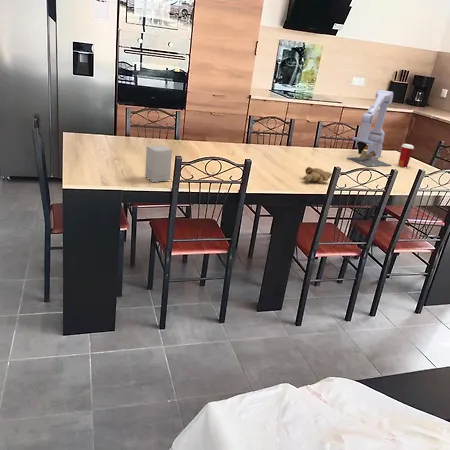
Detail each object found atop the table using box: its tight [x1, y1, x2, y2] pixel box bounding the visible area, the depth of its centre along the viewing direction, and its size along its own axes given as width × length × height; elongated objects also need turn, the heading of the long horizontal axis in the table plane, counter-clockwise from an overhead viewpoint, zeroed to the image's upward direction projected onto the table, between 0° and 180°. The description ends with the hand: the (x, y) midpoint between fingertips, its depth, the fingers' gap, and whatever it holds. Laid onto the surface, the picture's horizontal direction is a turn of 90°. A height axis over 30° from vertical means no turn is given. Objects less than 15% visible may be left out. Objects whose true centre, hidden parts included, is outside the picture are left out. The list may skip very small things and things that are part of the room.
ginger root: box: [302, 166, 333, 184], centre depth 235 cm, size 16×16×8 cm
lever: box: [359, 149, 376, 158], centre depth 291 cm, size 18×4×4 cm, turn 138°
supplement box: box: [144, 145, 173, 183], centre depth 205 cm, size 9×9×15 cm
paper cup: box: [397, 143, 415, 168], centre depth 288 cm, size 8×8×14 cm
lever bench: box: [346, 156, 392, 168], centre depth 289 cm, size 21×19×3 cm
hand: (359, 153), depth 288 cm, fingers closed
